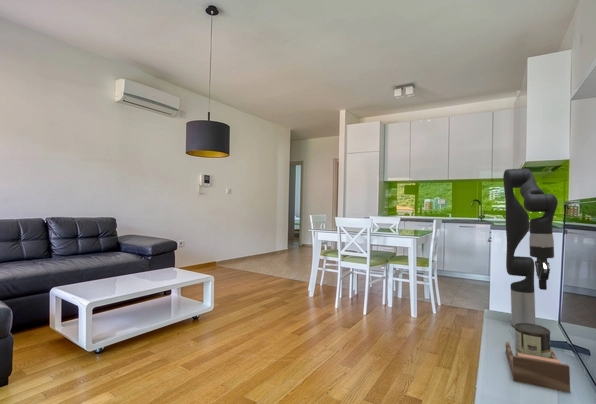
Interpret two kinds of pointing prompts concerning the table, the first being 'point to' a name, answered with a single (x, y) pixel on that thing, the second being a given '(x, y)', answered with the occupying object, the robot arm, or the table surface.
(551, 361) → the pusher paddle
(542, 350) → the coffee can
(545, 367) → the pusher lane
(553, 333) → the table surface
